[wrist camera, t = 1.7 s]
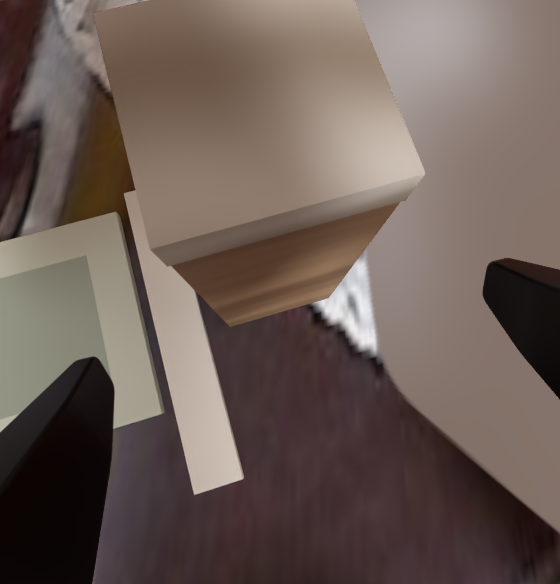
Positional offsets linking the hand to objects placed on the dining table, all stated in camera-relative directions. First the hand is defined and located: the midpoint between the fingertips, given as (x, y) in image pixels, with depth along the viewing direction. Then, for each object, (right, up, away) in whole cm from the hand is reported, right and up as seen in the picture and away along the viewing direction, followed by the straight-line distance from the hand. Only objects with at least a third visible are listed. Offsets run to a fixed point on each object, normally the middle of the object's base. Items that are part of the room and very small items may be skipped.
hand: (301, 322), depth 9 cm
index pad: (-13, -2, +11) cm, 17 cm away
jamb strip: (-6, -1, +11) cm, 13 cm away
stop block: (-1, +2, +12) cm, 12 cm away
